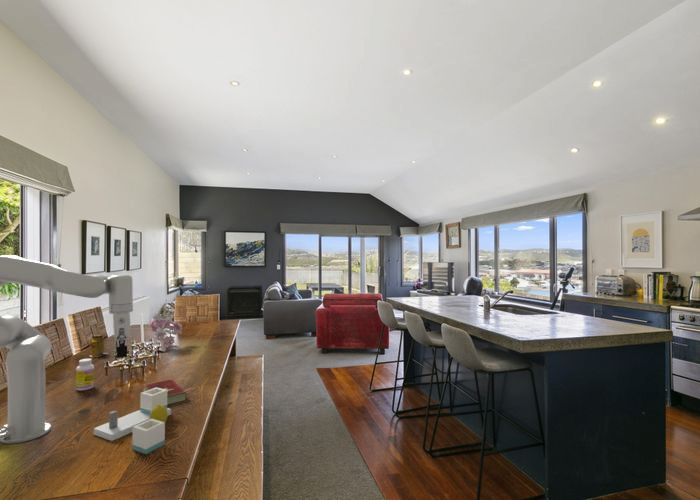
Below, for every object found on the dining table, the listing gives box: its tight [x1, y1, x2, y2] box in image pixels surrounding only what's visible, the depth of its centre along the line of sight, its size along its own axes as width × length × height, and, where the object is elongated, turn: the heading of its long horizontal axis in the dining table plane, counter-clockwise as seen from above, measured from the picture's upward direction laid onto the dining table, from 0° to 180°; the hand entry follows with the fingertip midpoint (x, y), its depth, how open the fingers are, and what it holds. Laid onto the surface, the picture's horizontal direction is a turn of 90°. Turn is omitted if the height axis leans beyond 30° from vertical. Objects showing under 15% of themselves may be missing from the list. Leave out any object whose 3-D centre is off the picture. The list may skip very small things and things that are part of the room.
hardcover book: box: [142, 378, 188, 405], centre depth 156 cm, size 12×21×4 cm, turn 42°
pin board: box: [93, 407, 172, 442], centre depth 130 cm, size 22×10×7 cm, turn 154°
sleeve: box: [131, 419, 166, 455], centre depth 115 cm, size 7×6×7 cm
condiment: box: [89, 334, 110, 358], centre depth 218 cm, size 7×8×12 cm
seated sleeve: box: [139, 387, 168, 415], centre depth 137 cm, size 6×6×7 cm
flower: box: [147, 312, 183, 353], centre depth 232 cm, size 20×22×25 cm
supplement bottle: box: [75, 358, 95, 392], centre depth 164 cm, size 7×7×13 cm
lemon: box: [150, 405, 168, 423], centre depth 127 cm, size 6×6×8 cm
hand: (121, 354), depth 135 cm, fingers open, 9 cm apart
